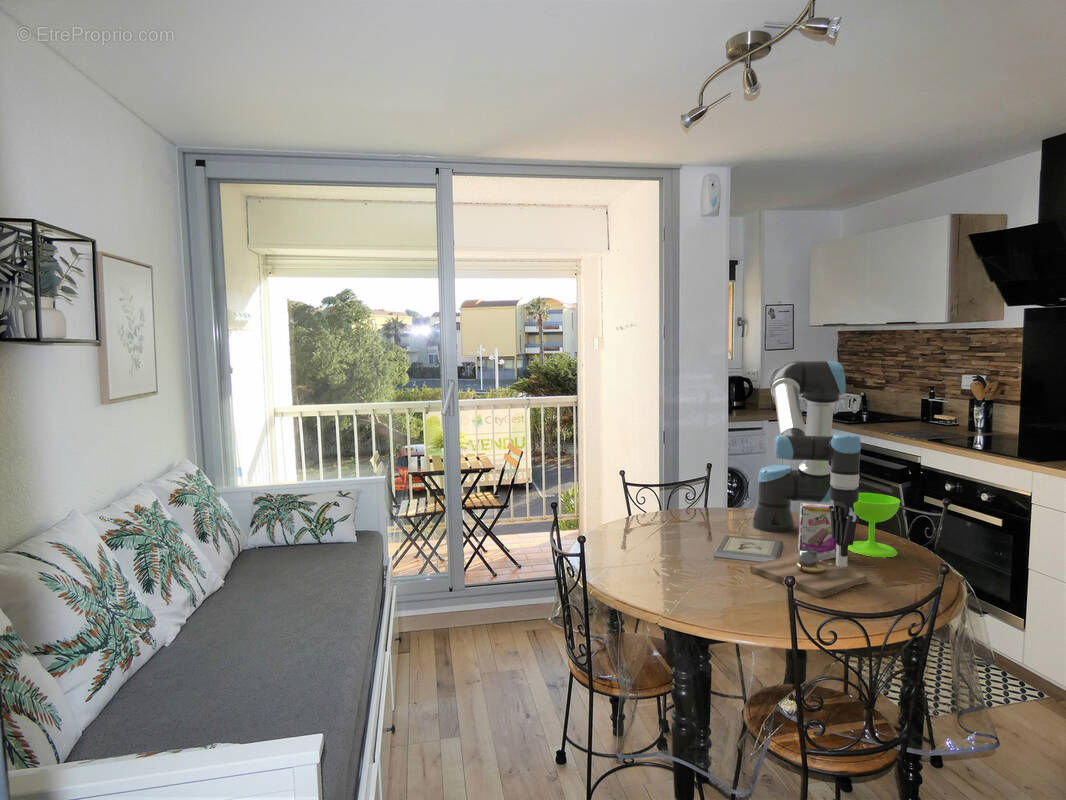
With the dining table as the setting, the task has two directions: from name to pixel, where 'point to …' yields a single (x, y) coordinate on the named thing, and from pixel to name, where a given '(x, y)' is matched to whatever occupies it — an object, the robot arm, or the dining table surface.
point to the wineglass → (874, 511)
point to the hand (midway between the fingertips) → (841, 565)
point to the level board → (809, 575)
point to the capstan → (813, 560)
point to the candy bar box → (815, 528)
